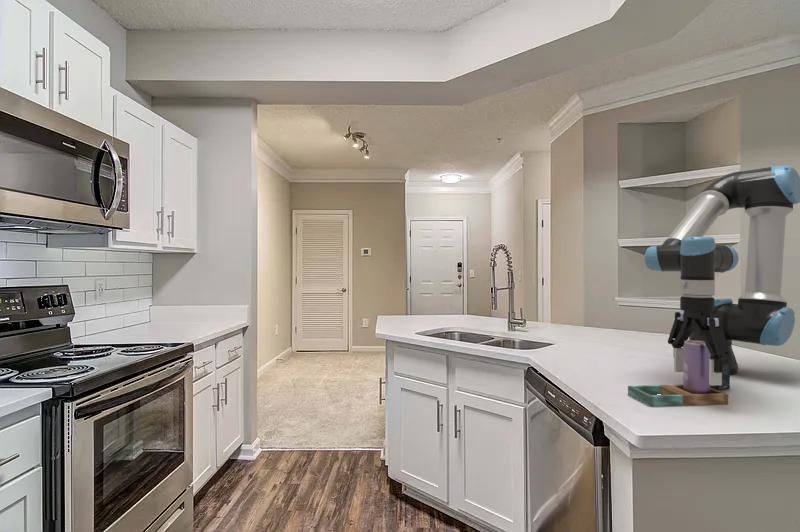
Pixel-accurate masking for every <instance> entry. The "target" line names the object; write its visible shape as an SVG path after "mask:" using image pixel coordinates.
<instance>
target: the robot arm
mask: <svg viewBox="0 0 800 532" xmlns="http://www.w3.org/2000/svg"><path fill="white" fill-rule="evenodd" d="M799 203H800V175H799V172H798V171H797V169H796V168H794V166H790V165H779V166H778V165H777V166H775V165H772V166H769V167H762V168H756V169H749V170H741V171H734V172H731V173H727V174H725V175H722V176H721V177H719V178H717V179H715V180H714V181H712V182H711V183H709V184H708V185H707V186H706V187H705V188H704V189H702V190H701V191H700V192H699V194H698V195H697V197H696V198H695V204H694V205H693V206H692V208H691V209H690V210H689V211H688V212H687V214H686V215H684V217H683V218H682V220H681V221H680V222H679V223H678V225H677V226H676V227H675V228H674V229H673V231H672V232H671V233H670V234H669V235H668V237H667V238H666V239H665V240H664V241H663V242H662V244H661V245H651V246H649V247H648V248H647V249H646V251H645V253H644V264H645V266H646V268H647V269H649V270H651V271H656V272H657V271H658V272H680V294H681V295H682V296H680V297H679V299H680V300H679V308H680V310H681V311H675V313H674V321H673V323H672V327H671V329H670V333H669V336H668V339H667V344H669V345H671V347H672V348H673V372H674V373H683V345H684V341H685V340H699V341H704V342H705V344H706V346H707V348H708V350H709V352H710V354H711V356H712V357H710V359H709V385H711V386H712V385H722V372H723V360H724V359H727V358H730V375H736V374H738V373H739V364H738V361H737V359H736V356H735V353H734V350H733V347H732V346H733V345H732V344H733V343H732V341H733V342H734V341H735V342H742V343H750V344H756V345H762V346H776V347H777V346H778V347H779V346H782V345H784V344H786V343H787V342H788V340H790V338H791V335H792V334H793V331H794V329H795V328H794V327H795V322H796V319H795V318H796V317H795V311H794V309H793V308H792V307H789V306H787V305H788V304H787V303H788V301H787V300H786V299H785V298H784V297H783V296H782V294H781V293H782V279H783V265H784V264H783V263H784V251H785V250H784V249H785V247H784V246H785V233H786V218H787V216H788V215H789V214H791V213H792V212H793V210H794V205H797V204H799ZM741 208H744V209H743V210H744V213H745V214H746V215H747V216H749V224H748V225H749V226H748V227H749V229H748V241H747V254H746V255H747V257H746V269H745V271H746V272H745V283H744V284H745V285H744V286H745V287H744V292H743V294H742V295H740V296H739V297H738V299H737V303H734V302H733V299H731V298H714V297H713V296H714V295H716V284H715V283H716V280H715V279H716V278H715V277H716V276H715V273H725V272H730V271H732V270H733V269H735V268H736V266H737V265H738V263H739V260H740V256H739V253H738V252H737V250H736V249H735V248H734V247H732V246H730V245H726V244H721V243H720V244H716V240H715V238H714V237H713V236H705V235H706V233H707V232H708V230H709V229H710V228H711V226H712V225H713V224H714V223H715V222H716V220H717V219H718V217H721V216H723V215H725V214H726V213H727V212H728V211H729V210H732V209H741ZM723 352H724V353H723ZM716 353H717V354H716Z"/></svg>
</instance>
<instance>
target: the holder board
mask: <svg viewBox="0 0 800 532" xmlns="http://www.w3.org/2000/svg"><path fill="white" fill-rule="evenodd" d="M657 394H661V395H657ZM629 395H630V396H629ZM627 396H629V397H631V396H632V397H633V398H632V397H631V398H632V399H634V398H635V400H636V399H637V401H638V400H639V401H638V402H640V401H641V402H640V403H642V402H643V403H642V404H644V403H645V404H644V405H646V404H647V405H649V406H658V407H681V406H682V407H684V406H685V407H687V406H715V405H716V406H718V405H729V394H728V393H725V392H723V391H718V390H715V389H713V388H710V394H691V393H689V392H687V391H684V390H683V383H682V384H681V383H679V384H653V385H652V384H651V385H650V384H648V385H647V384H646V385H628V386H627ZM647 405H646V406H647ZM649 406H648V407H649Z"/></svg>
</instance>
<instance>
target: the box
mask: <svg viewBox="0 0 800 532" xmlns="http://www.w3.org/2000/svg"><path fill="white" fill-rule="evenodd" d="M723 353H724V352H723ZM716 354H717V353H716ZM711 357H712V356H711ZM730 376H731V374H730V358H727V359H724V360H723V372H722V385H712V386H711V385H710V388H713V389H715V390H718V391H721V392H723V391H727V390H730V388H731V385H730V384H731V377H730Z"/></svg>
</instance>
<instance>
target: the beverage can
mask: <svg viewBox="0 0 800 532" xmlns="http://www.w3.org/2000/svg"><path fill="white" fill-rule="evenodd" d="M682 348H683V372H682V373H683V374H682V384H683V390H684V391H687V392H689V393H691V394H710V385H709V359H710V357H711V354H710V352H709V350H708V348H707V346H706V344H705V342H704V341H699V340H689V339H687V340H685V341H684V345H683V347H682Z"/></svg>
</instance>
